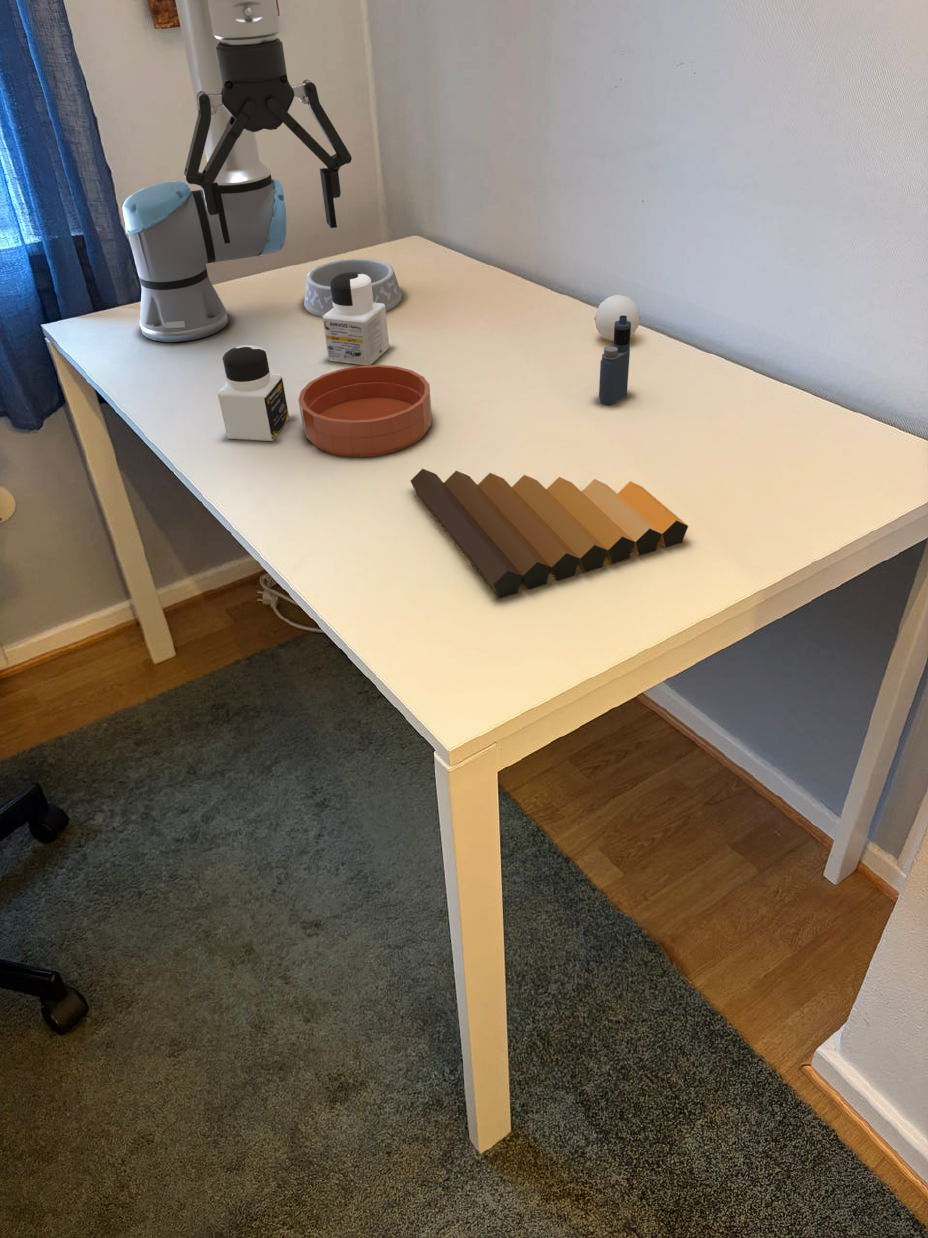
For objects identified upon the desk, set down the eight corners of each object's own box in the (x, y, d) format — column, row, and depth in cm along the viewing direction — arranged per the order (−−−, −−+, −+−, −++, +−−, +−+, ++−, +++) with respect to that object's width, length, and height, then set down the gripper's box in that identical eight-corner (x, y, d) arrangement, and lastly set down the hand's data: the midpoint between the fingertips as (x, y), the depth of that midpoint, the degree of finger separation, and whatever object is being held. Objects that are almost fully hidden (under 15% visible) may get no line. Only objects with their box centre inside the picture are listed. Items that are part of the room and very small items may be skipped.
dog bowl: (399, 315, 172) (396, 286, 168) (298, 320, 172) (293, 290, 169) (405, 282, 185) (402, 254, 182) (311, 286, 186) (307, 258, 182)
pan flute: (411, 494, 123) (493, 600, 104) (409, 471, 121) (492, 575, 102) (582, 449, 130) (686, 541, 112) (582, 427, 128) (689, 516, 110)
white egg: (647, 343, 157) (650, 299, 152) (606, 351, 155) (609, 307, 150) (618, 322, 164) (620, 280, 160) (579, 330, 162) (580, 287, 158)
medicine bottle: (273, 442, 136) (258, 362, 128) (226, 439, 137) (208, 360, 130) (290, 419, 141) (276, 341, 134) (245, 416, 143) (229, 339, 135)
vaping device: (630, 394, 142) (636, 316, 135) (609, 407, 139) (613, 327, 132) (616, 390, 144) (621, 312, 136) (595, 402, 141) (598, 323, 133)
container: (327, 361, 157) (316, 282, 149) (349, 343, 163) (339, 266, 155) (369, 366, 155) (360, 286, 147) (390, 348, 160) (382, 270, 152)
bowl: (294, 412, 143) (288, 378, 139) (411, 390, 147) (408, 356, 144) (319, 469, 129) (313, 432, 126) (448, 442, 133) (446, 406, 130)
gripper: (137, 54, 102) (183, 255, 116) (362, 31, 108) (381, 226, 121) (133, 45, 108) (177, 238, 121) (347, 24, 114) (367, 211, 127)
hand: (279, 232), depth 121 cm, fingers open, 13 cm apart
